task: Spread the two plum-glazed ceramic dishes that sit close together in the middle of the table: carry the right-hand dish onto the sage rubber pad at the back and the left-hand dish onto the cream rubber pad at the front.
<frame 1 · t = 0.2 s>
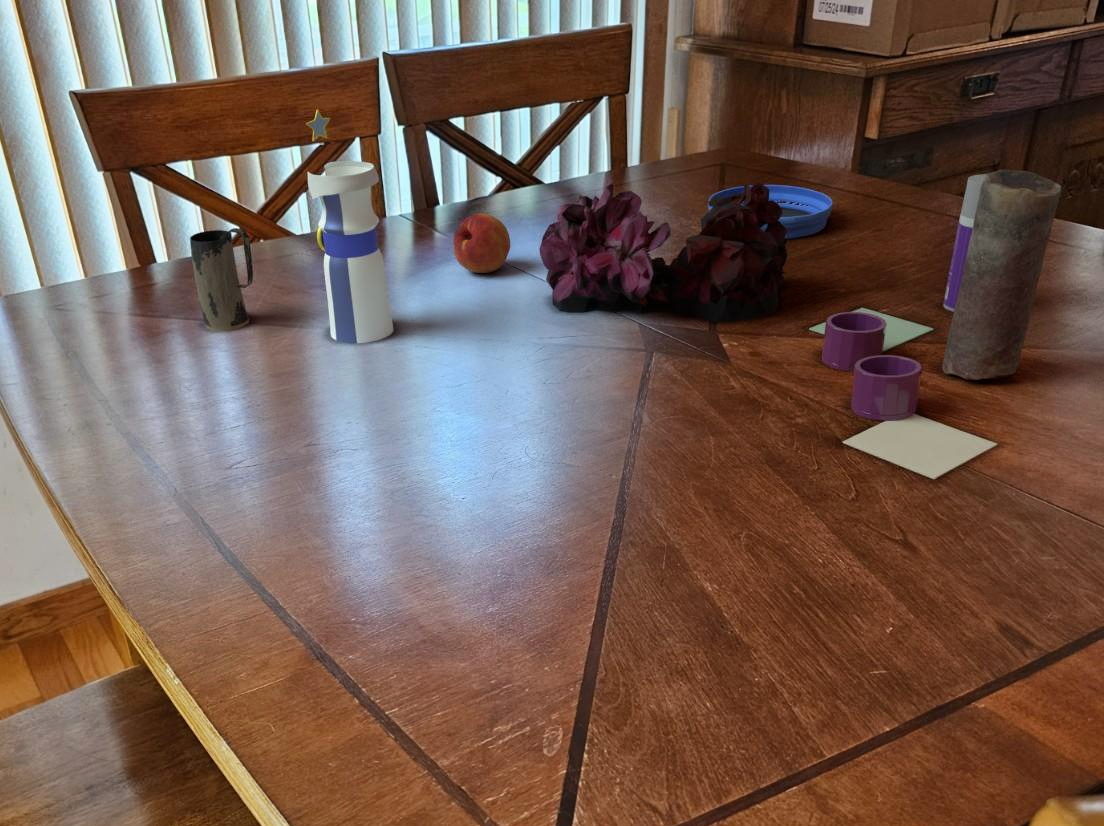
pad far: (870, 331, 128), on the table
dish b: (883, 408, 110), on the table, touching pad near
pad near: (919, 445, 104), on the table
container: (963, 309, 133), on the table
dish a: (850, 361, 121), on the table
bowl: (767, 225, 165), on the table
flower arrangement: (663, 303, 139), on the table
water bottle: (360, 334, 134), on the table
fruit: (483, 273, 152), on the table
mug: (234, 326, 139), on the table
grey stone cylinder: (978, 375, 117), on the table
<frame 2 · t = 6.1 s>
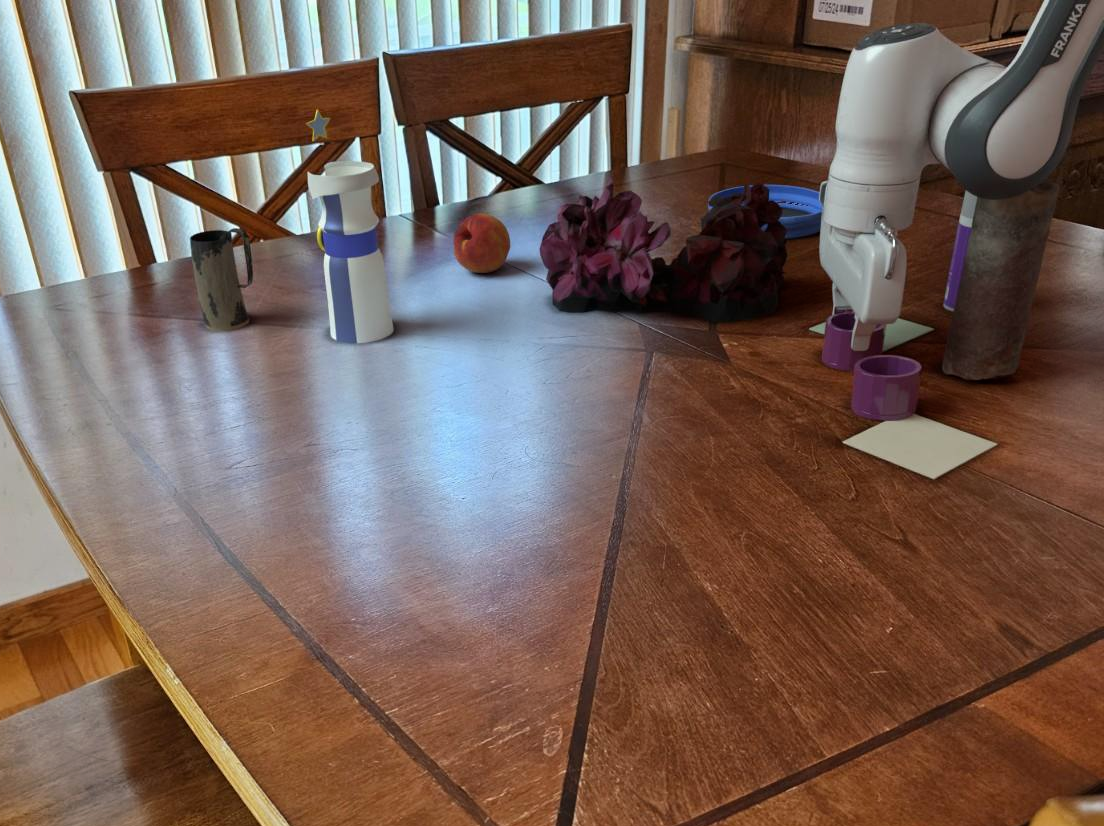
hand: (849, 335, 119), 3 cm above the table, tool pointing down, fingers closed on dish a, 6 cm apart
dish a: (850, 361, 121), on the table, touching gripper
grey stone cylinder: (978, 375, 117), on the table, touching arm
everything else where it was.
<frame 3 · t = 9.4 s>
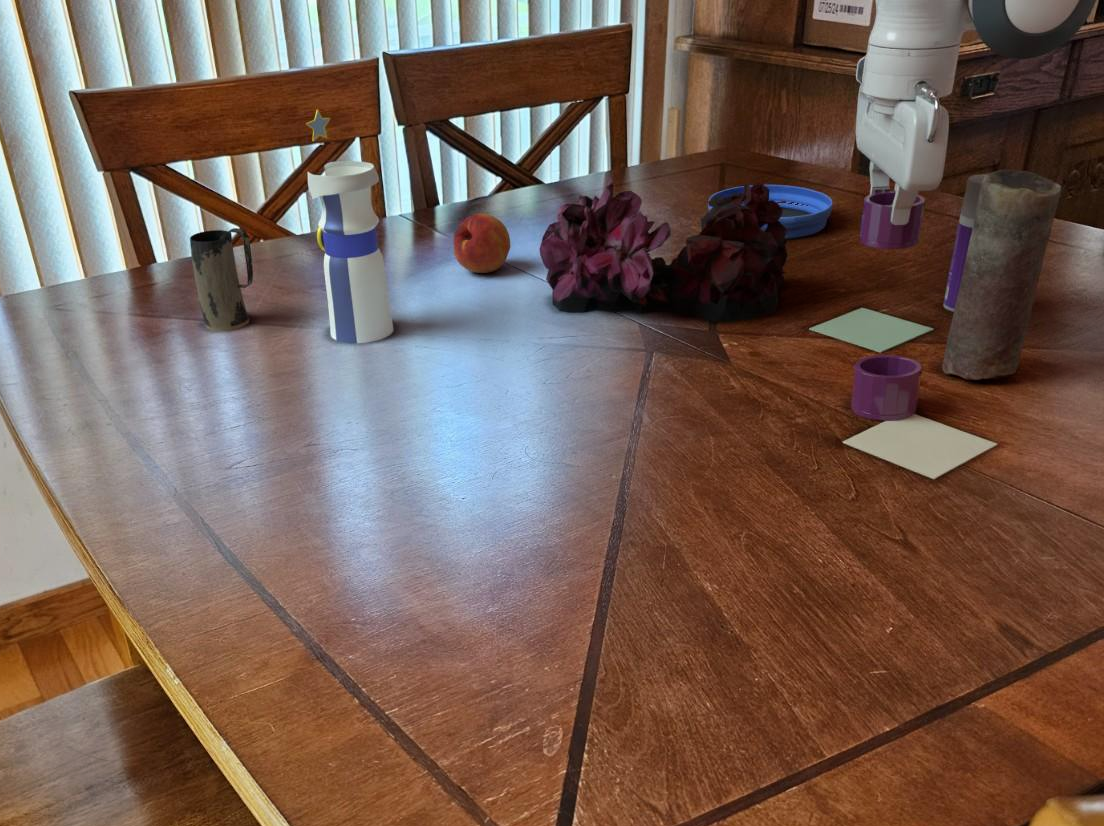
hand: (887, 213, 119), 14 cm above the table, tool pointing down, fingers closed on dish a, 6 cm apart
dish a: (888, 240, 121), point 11 cm above the table, touching gripper
grey stone cylinder: (978, 375, 117), on the table
everything else where it was.
when the fingers open (3 cm above the table, at t = 12.8 s): dish a stays where it is, resting on pad far.
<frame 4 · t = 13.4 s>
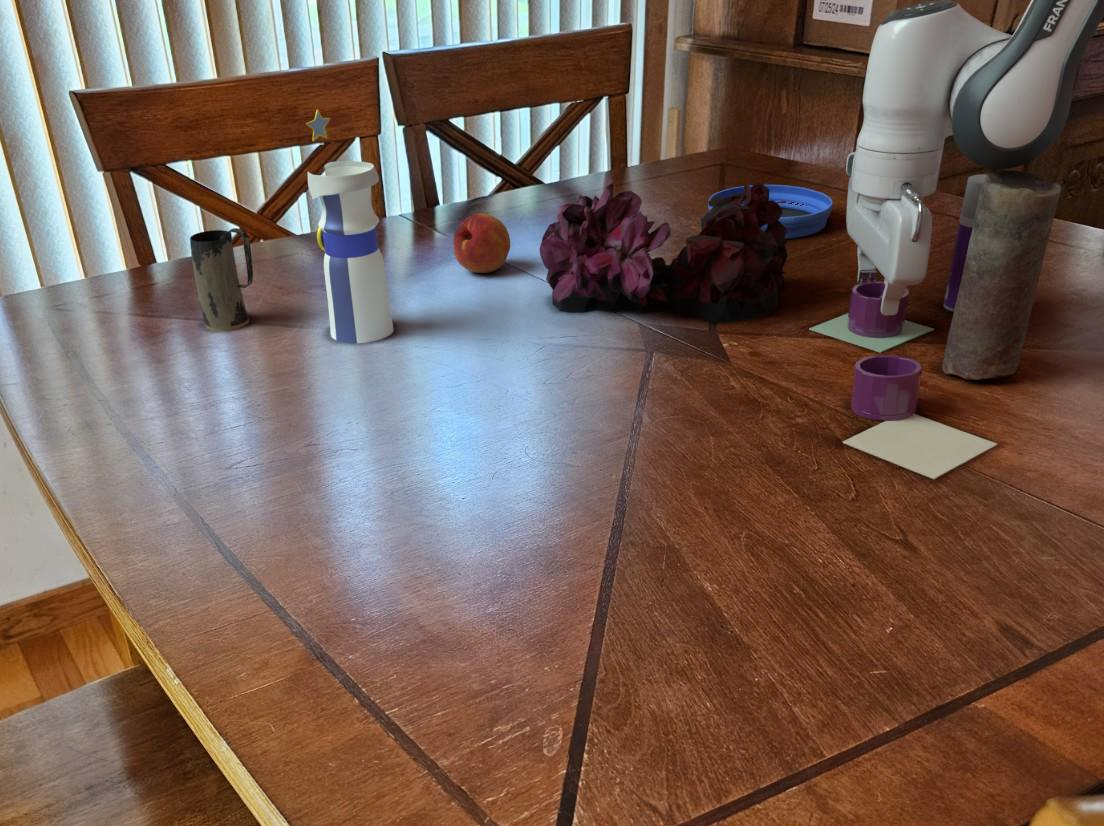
hand: (876, 298, 126), 4 cm above the table, tool pointing down, fingers open, 8 cm apart
dish a: (874, 328, 128), resting on pad far
everything else where it was.
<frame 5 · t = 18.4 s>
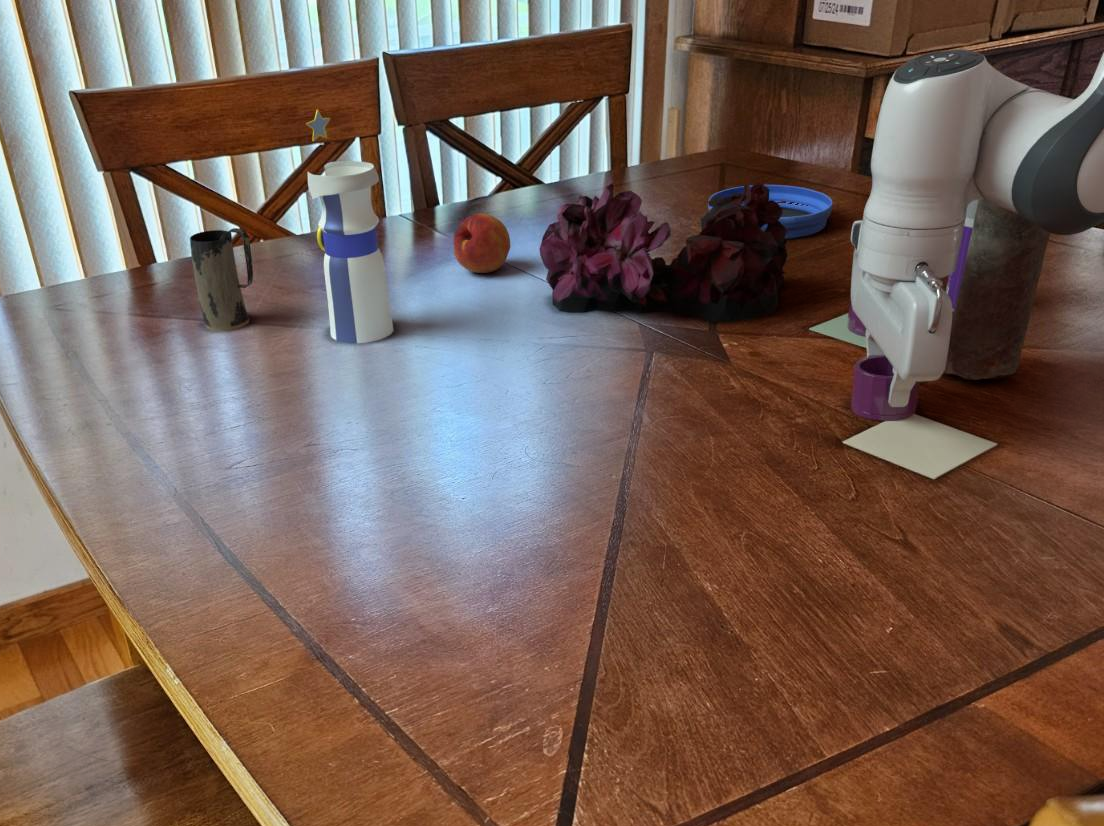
hand: (885, 387, 109), 2 cm above the table, tool pointing down, fingers closed on dish b, 6 cm apart
dish b: (883, 408, 110), on the table, touching gripper, pad near
everything else where it was.
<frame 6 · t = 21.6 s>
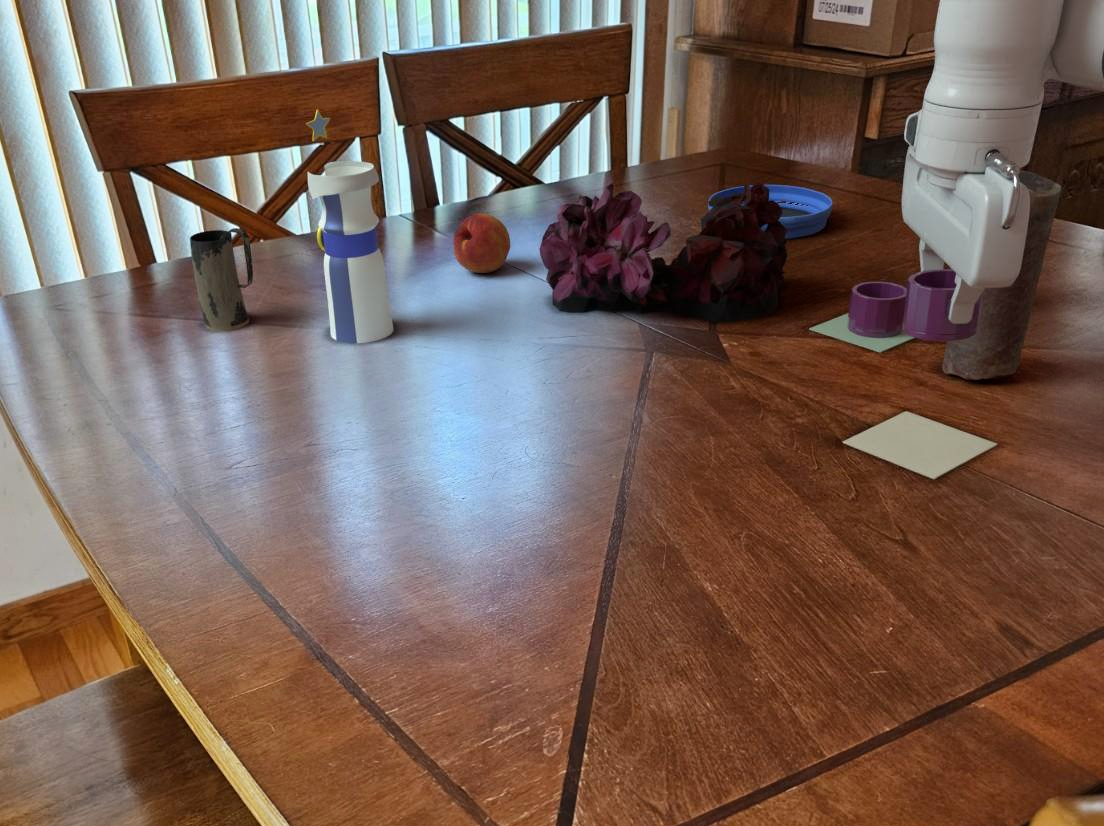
hand: (943, 305, 96), 13 cm above the table, tool pointing down, fingers closed on dish b, 6 cm apart
dish b: (939, 329, 97), point 11 cm above the table, touching gripper
everything else where it was.
when the fingers open (2 cm above the table, at t = 25.1 s): dish b stays where it is, resting on pad near.
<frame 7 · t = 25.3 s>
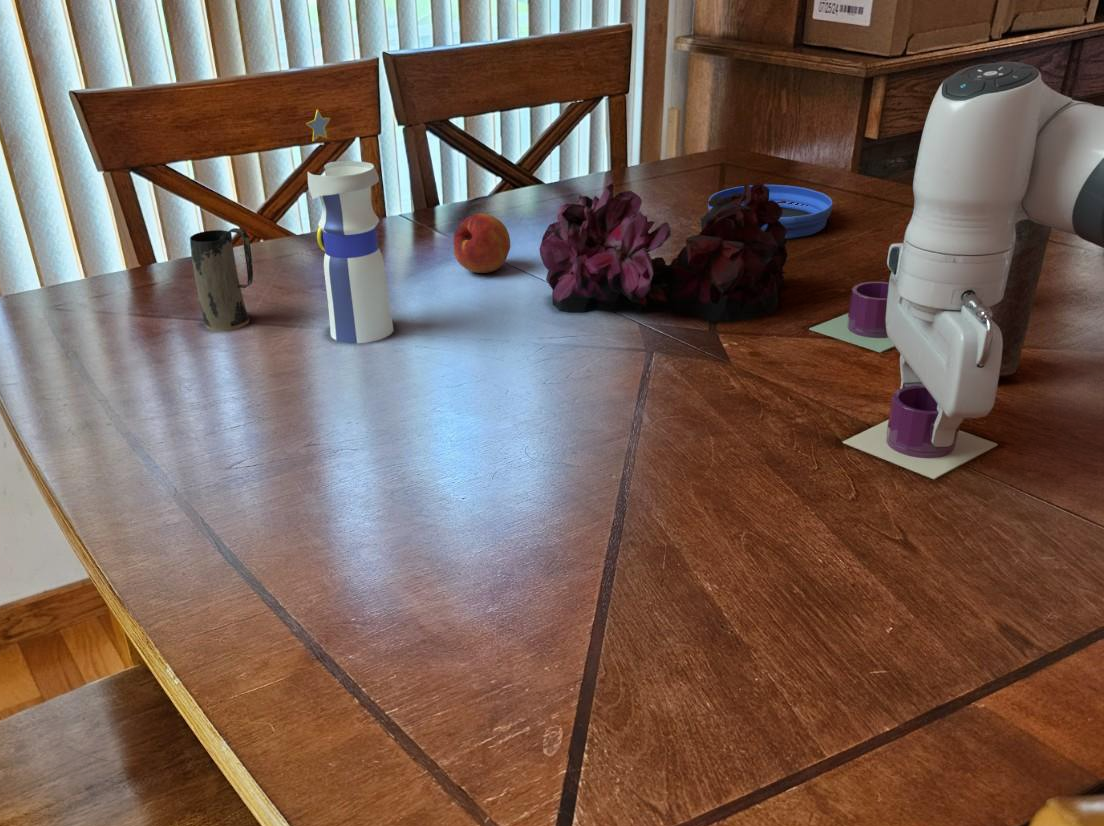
hand: (924, 421, 102), 3 cm above the table, tool pointing down, fingers open, 8 cm apart
dish b: (920, 443, 103), resting on pad near
everything else where it was.
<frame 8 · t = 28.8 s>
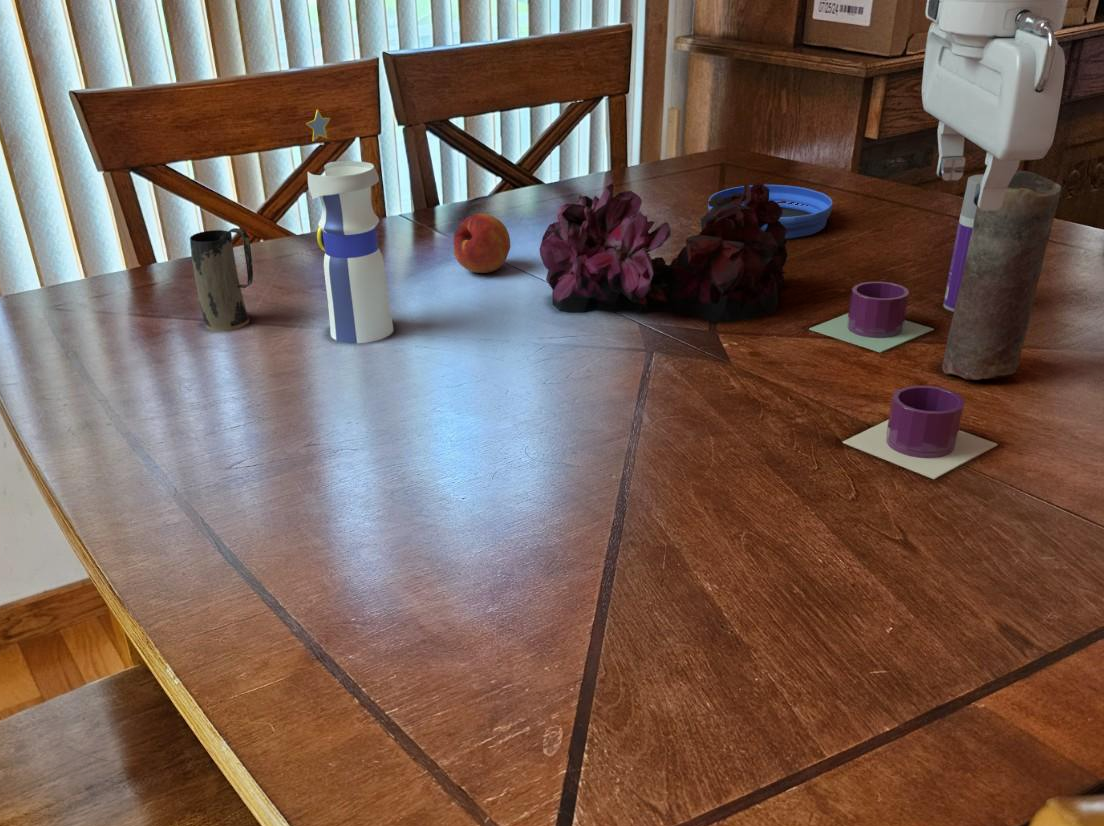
hand: (966, 193, 90), 23 cm above the table, tool pointing down, fingers open, 8 cm apart
nothing on the table moved.
at the end: dish a inside the target area on the pad far (0.4 cm from its centre), point 0.3 cm above the pad far's base; dish b inside the target area on the pad near (0.1 cm from its centre), point 0.3 cm above the pad near's base; dish b tilted 0° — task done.
